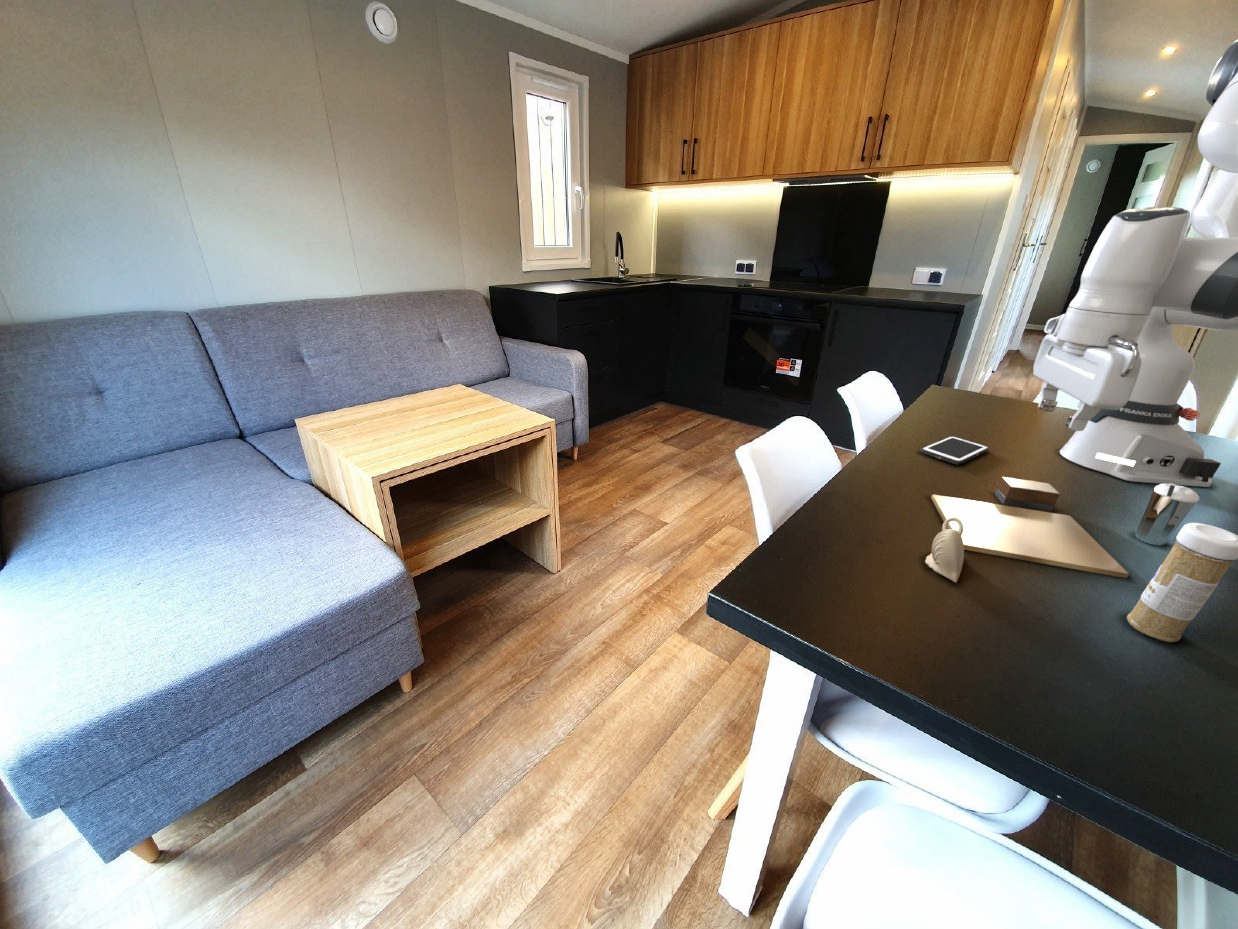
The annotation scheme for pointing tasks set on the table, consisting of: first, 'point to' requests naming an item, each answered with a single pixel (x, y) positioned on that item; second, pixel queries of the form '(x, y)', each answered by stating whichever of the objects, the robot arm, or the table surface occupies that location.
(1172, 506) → the silver metal cylinder
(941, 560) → the decorative ornament
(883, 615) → the table surface
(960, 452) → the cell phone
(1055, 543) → the writing board
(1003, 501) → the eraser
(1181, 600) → the sprinkles bottle
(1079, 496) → the table surface
